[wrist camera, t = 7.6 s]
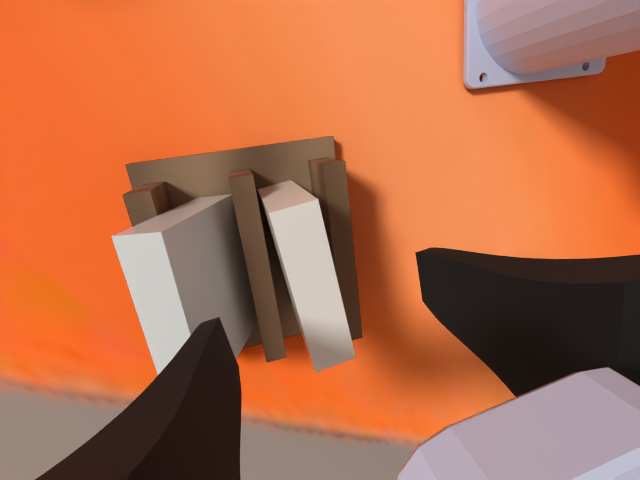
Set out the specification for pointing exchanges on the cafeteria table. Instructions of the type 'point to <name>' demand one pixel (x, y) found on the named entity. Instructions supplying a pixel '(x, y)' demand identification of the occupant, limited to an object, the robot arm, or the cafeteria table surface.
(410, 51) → the cafeteria table surface
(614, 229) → the cafeteria table surface
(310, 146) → the rack
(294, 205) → the white upright slab
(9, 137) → the cafeteria table surface
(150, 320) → the racked plate
